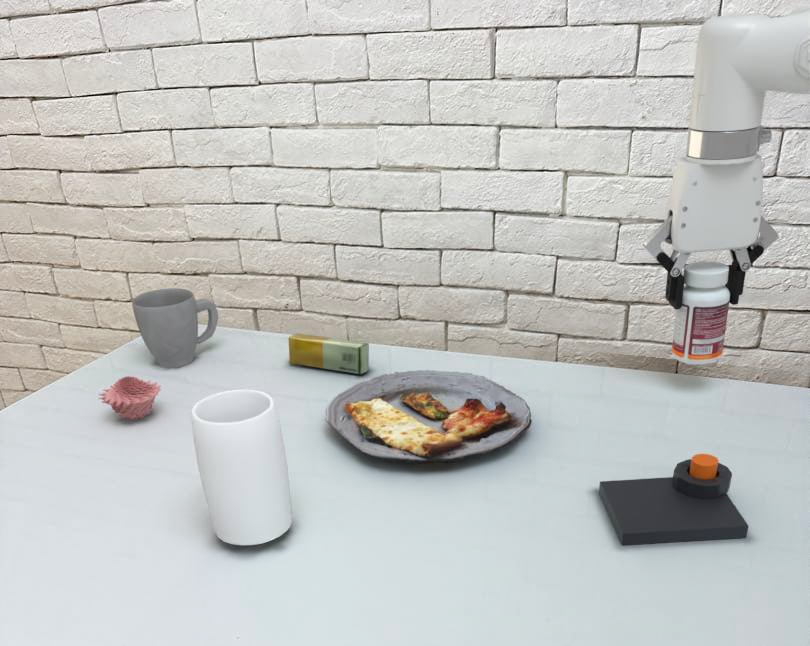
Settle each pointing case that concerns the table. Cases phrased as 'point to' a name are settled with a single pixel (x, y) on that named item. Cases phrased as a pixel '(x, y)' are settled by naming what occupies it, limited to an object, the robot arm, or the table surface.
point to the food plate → (428, 416)
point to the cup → (242, 466)
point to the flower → (131, 397)
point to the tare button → (703, 466)
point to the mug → (172, 324)
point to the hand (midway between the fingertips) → (702, 302)
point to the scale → (673, 508)
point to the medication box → (329, 353)
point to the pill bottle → (702, 314)
